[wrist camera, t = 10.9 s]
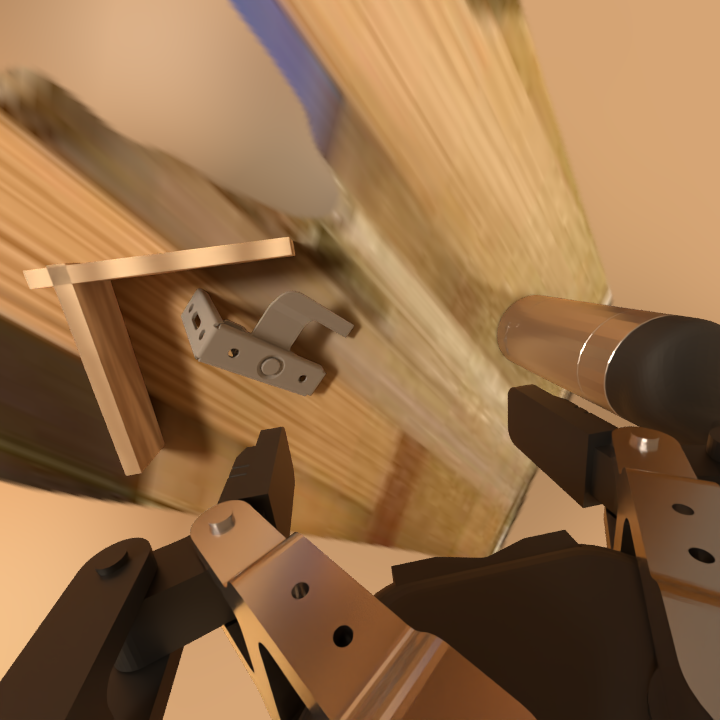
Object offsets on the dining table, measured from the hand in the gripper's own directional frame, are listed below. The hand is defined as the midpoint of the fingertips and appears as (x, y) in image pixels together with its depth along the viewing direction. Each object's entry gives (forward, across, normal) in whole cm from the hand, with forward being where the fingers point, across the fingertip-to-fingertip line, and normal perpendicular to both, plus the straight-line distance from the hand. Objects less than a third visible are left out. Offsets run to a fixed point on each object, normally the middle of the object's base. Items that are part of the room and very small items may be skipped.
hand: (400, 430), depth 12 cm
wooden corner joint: (+30, +16, +2) cm, 34 cm away
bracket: (+31, +8, 0) cm, 32 cm away
